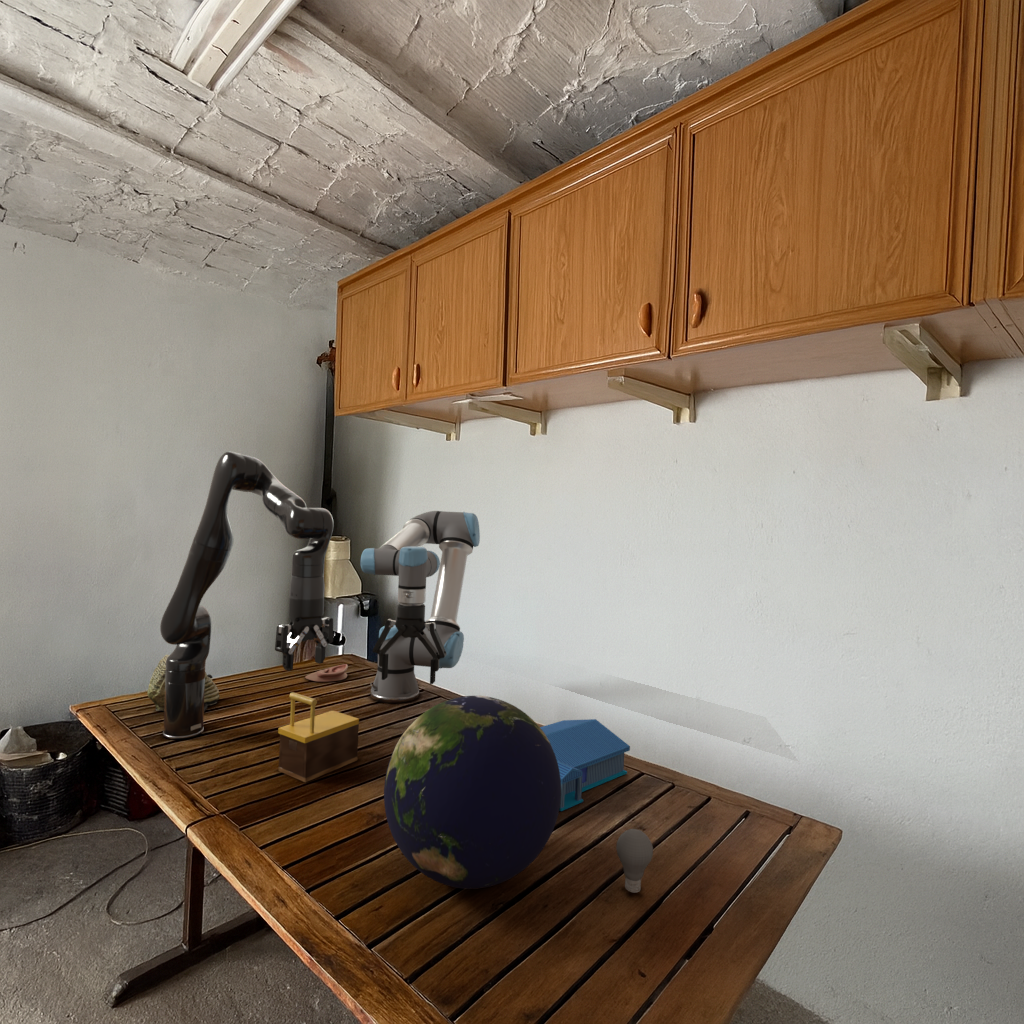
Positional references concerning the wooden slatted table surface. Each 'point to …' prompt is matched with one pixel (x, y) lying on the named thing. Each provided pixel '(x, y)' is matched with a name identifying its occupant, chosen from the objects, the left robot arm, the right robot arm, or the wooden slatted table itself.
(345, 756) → the chest
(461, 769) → the globe
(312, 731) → the lid
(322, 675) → the anatomical model
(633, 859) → the light bulb
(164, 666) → the fossil
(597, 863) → the wooden slatted table surface
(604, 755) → the model building
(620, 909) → the wooden slatted table surface
